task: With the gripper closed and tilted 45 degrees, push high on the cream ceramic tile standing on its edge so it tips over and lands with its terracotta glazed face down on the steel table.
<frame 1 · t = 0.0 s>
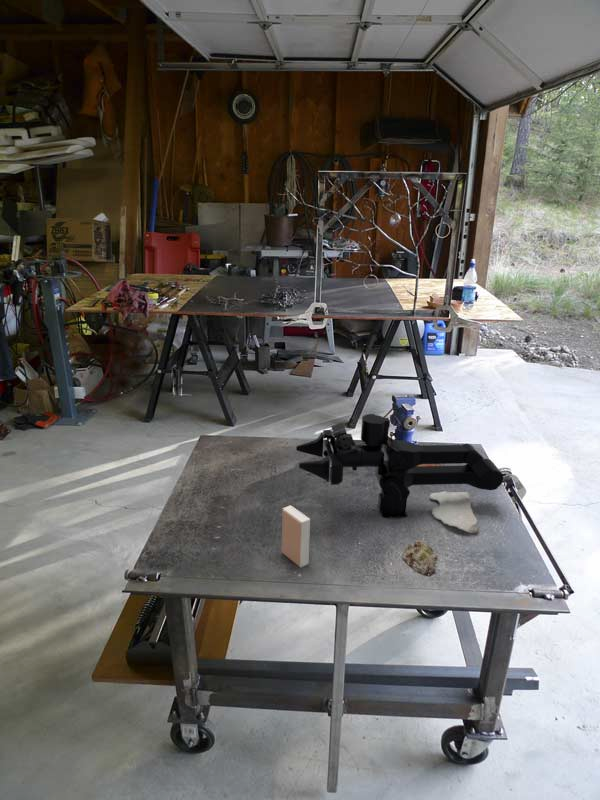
hand: (297, 456, 149), 17 cm above the table, tool horizontal, fingers open, 9 cm apart
metal beam: (216, 528, 149), on the table
stone: (454, 516, 157), on the table
mineral rock: (420, 562, 139), on the table
ceramic shard: (414, 468, 181), on the table
tile: (294, 557, 138), on the table
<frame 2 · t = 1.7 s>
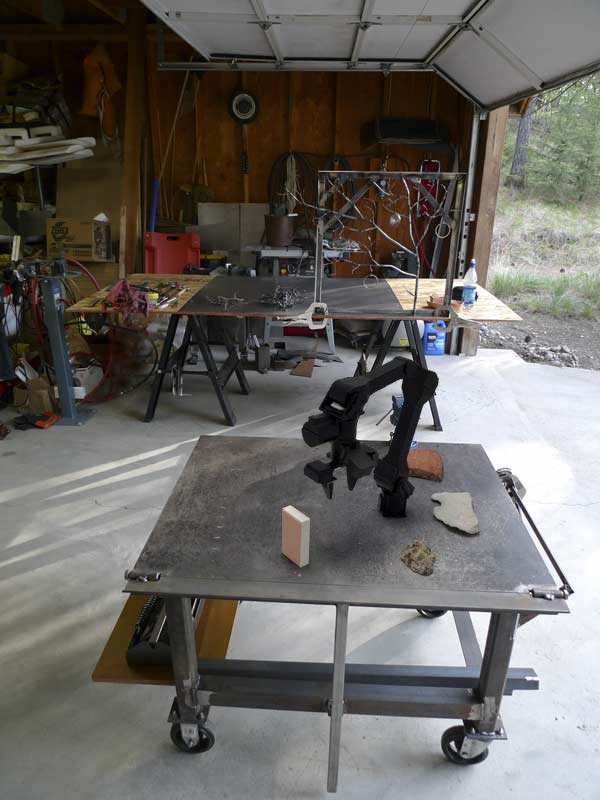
hand: (340, 494, 142), 12 cm above the table, tool pointing down, fingers open, 6 cm apart
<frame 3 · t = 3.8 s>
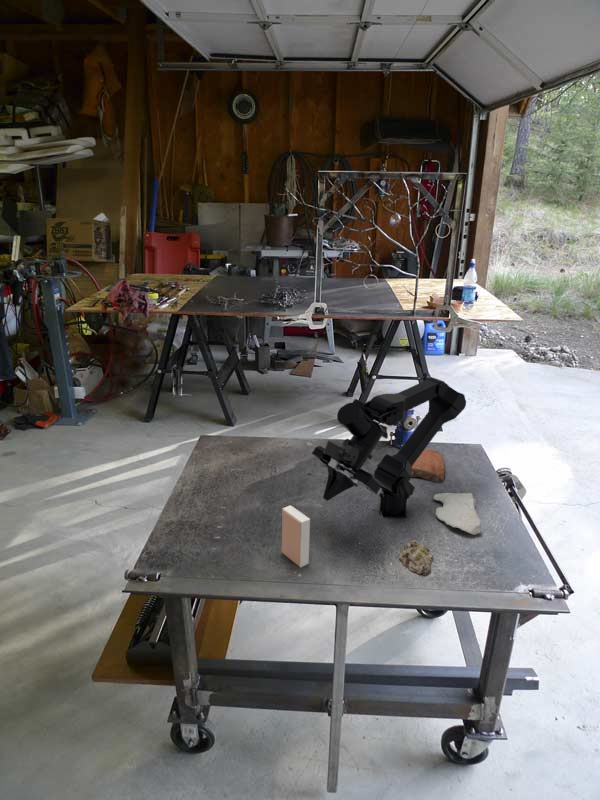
hand: (325, 499, 139), 12 cm above the table, tool tilted 45°, fingers closed
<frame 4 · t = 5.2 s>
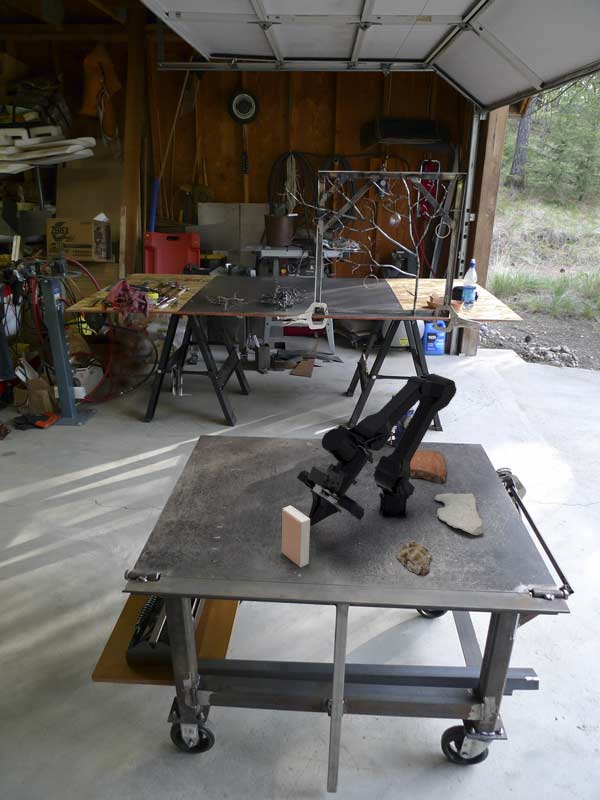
hand: (309, 525, 138), 7 cm above the table, tool tilted 45°, fingers closed
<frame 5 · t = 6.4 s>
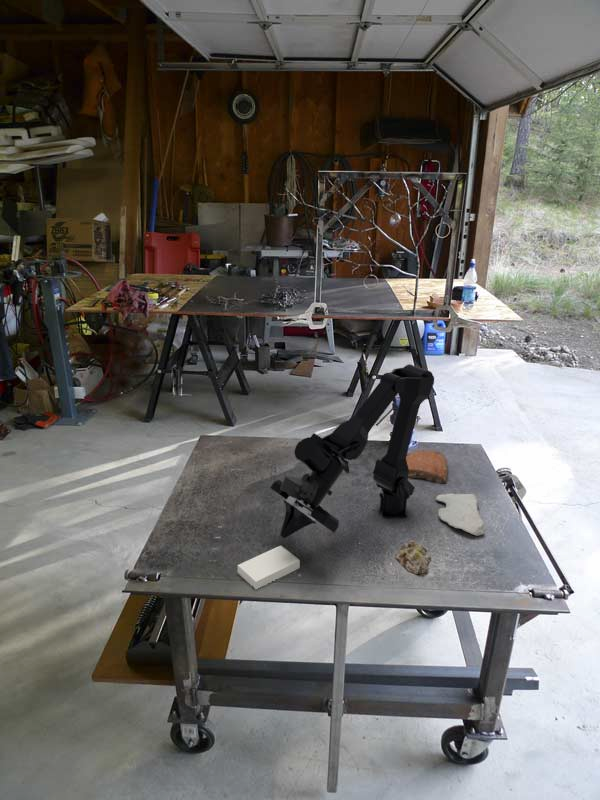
hand: (282, 537, 133), 7 cm above the table, tool tilted 45°, fingers closed
tile: (290, 556, 137), point 1 cm above the table, tilted 90°
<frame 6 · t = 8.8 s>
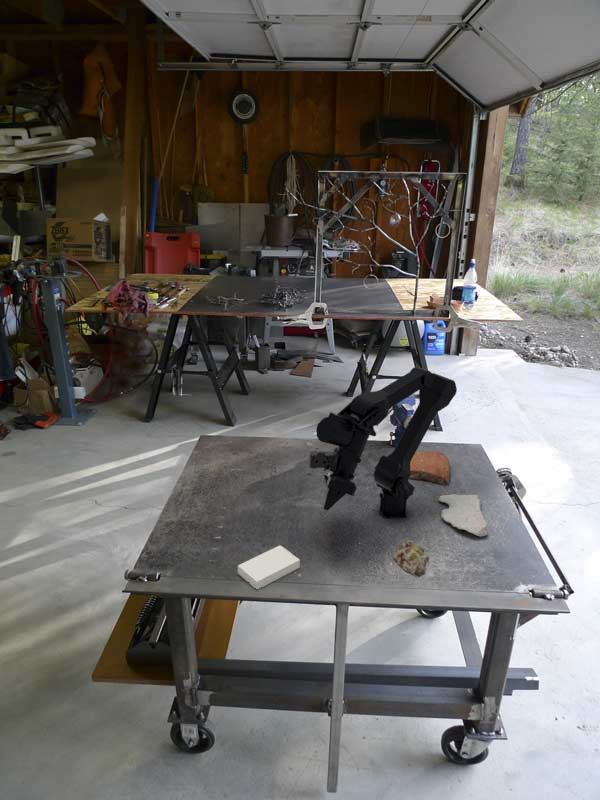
hand: (325, 509, 141), 9 cm above the table, tool tilted 25°, fingers closed
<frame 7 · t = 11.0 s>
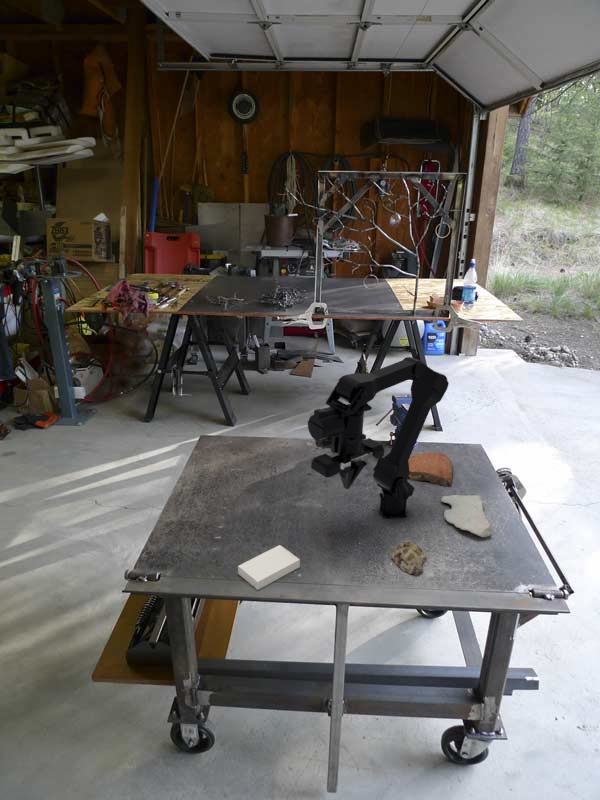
hand: (346, 488, 145), 12 cm above the table, tool pointing down, fingers closed
at the end: tile tilted 90°; tile inside the target area (1.2 cm from its centre), point 0.9 cm above the table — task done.
